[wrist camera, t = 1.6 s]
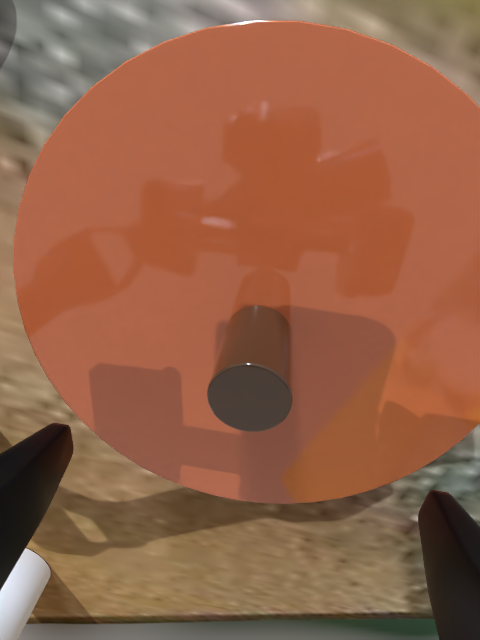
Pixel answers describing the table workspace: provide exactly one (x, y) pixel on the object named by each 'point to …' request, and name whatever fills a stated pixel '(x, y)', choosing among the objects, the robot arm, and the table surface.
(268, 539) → the table surface
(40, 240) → the lid
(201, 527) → the table surface
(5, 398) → the table surface
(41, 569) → the cylindrical container
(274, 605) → the table surface
